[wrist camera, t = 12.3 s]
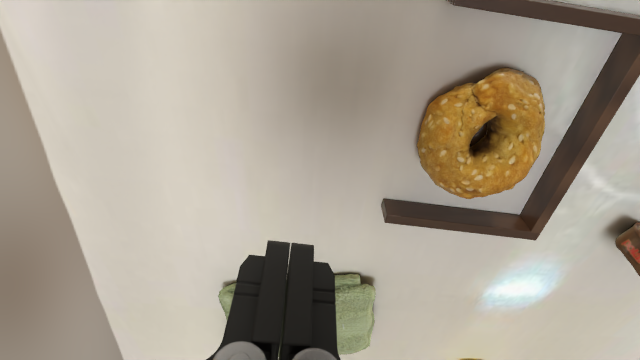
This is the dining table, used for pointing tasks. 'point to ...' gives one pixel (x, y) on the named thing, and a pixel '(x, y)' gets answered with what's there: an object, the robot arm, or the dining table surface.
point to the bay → (585, 131)
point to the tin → (631, 245)
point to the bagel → (496, 146)
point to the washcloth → (339, 312)
